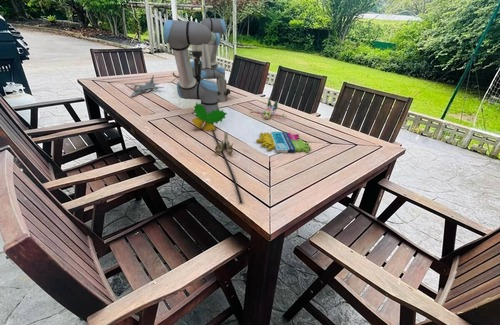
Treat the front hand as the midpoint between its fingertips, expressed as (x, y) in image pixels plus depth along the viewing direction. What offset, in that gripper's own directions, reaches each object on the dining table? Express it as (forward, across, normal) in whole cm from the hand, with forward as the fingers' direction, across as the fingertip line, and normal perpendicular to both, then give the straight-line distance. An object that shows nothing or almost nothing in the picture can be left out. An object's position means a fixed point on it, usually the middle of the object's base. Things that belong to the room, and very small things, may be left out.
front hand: (198, 82), depth 204 cm
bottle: (+16, +1, -20) cm, 25 cm away
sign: (+15, -88, -30) cm, 94 cm away
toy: (+15, -38, -46) cm, 61 cm away
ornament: (+15, -57, +6) cm, 59 cm away
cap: (-2, 0, 0) cm, 2 cm away
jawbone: (+15, -90, +6) cm, 91 cm away
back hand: (+9, -4, -19) cm, 21 cm away
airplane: (+16, +39, +38) cm, 57 cm away
